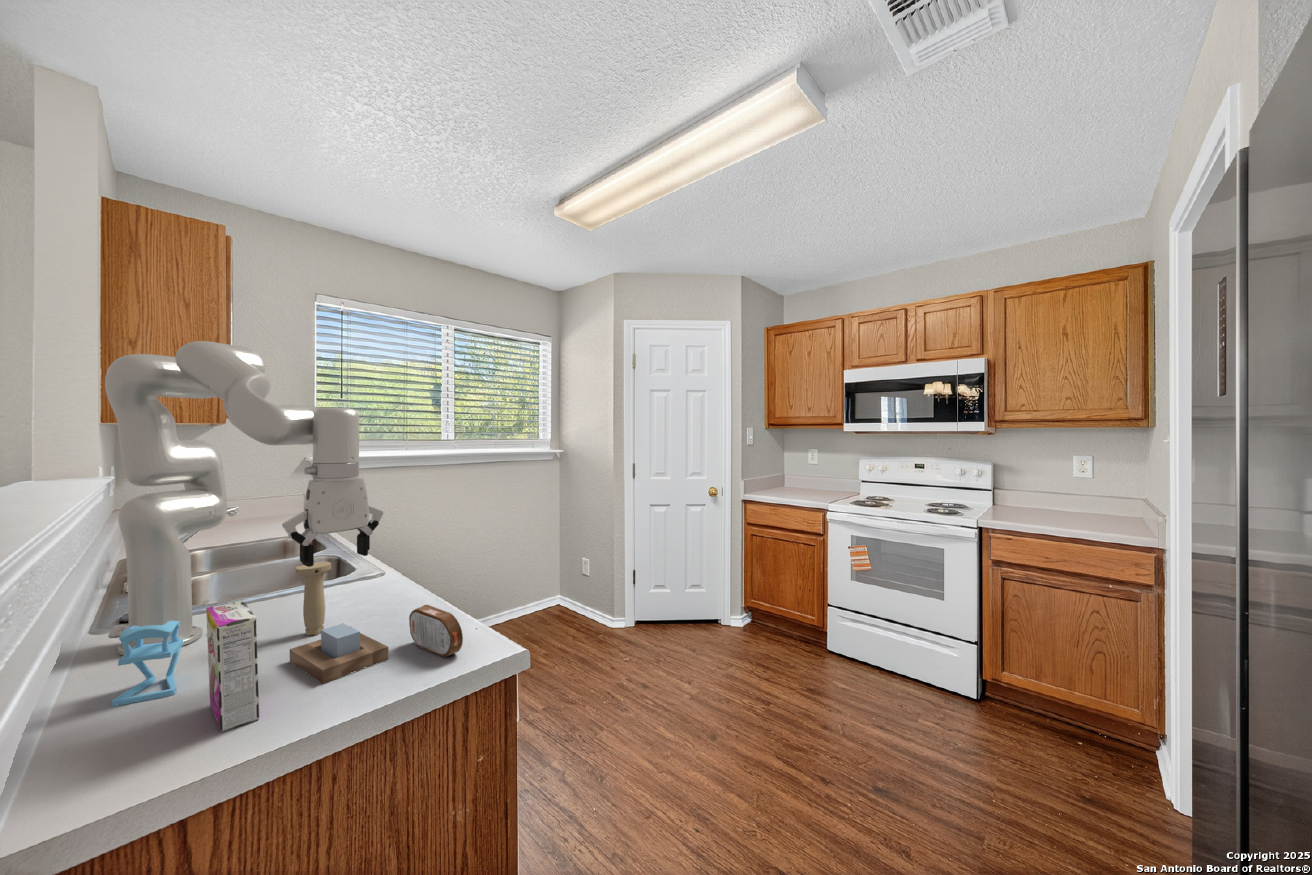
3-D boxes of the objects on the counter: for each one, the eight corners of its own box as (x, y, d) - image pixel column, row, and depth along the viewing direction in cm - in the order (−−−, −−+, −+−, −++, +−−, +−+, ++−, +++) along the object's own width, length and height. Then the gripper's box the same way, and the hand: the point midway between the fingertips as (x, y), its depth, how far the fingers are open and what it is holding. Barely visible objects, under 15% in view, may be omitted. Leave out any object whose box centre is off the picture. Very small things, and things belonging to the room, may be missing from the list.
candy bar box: (206, 706, 82) (204, 606, 81) (246, 694, 86) (244, 598, 85) (218, 735, 74) (215, 625, 74) (260, 720, 78) (258, 615, 78)
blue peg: (337, 670, 94) (337, 638, 94) (321, 660, 98) (320, 629, 98) (360, 662, 97) (359, 631, 97) (343, 652, 101) (343, 623, 101)
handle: (334, 631, 111) (333, 564, 111) (299, 641, 107) (298, 570, 106) (328, 625, 115) (327, 560, 114) (294, 634, 110) (293, 566, 109)
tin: (464, 657, 99) (464, 615, 99) (450, 663, 97) (449, 620, 97) (420, 639, 108) (420, 600, 108) (406, 644, 105) (406, 604, 105)
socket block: (322, 684, 89) (322, 663, 89) (289, 661, 97) (289, 642, 97) (388, 659, 98) (388, 640, 98) (353, 640, 107) (352, 623, 107)
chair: (190, 674, 93) (189, 609, 92) (174, 695, 85) (173, 624, 85) (132, 684, 89) (131, 617, 89) (110, 707, 82) (109, 633, 81)
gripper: (292, 476, 88) (292, 574, 88) (391, 470, 102) (391, 554, 102) (275, 473, 92) (275, 566, 92) (372, 467, 106) (372, 548, 107)
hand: (336, 559), depth 97 cm, fingers open, 9 cm apart
